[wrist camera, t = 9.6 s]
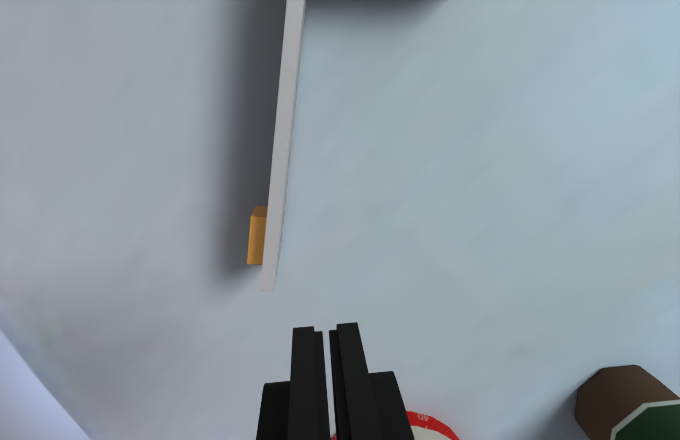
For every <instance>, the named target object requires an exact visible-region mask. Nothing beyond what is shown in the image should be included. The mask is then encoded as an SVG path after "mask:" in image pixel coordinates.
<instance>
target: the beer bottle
mask: <svg viewBox="0 0 680 440" xmlns="http://www.w3.org/2000/svg"><path fill="white" fill-rule="evenodd" d="M575 419H576V421H577V422H578V424H579V425H580V426H581V428H582V429H583V431H584V432H585V433H586V435H587V436H588V437H589V439H590V440H680V398H679V397H678V396H677V395H676V394H674V393H673V392H672V391H671V390H670V389H668V388H667V387H666V386H665V385H664V384H662V383H661V382H660V381H659V380H657V379H656V378H655V377H653V376H652V375H651V374H649V373H648V372H647V371H645V370H644V369H643V368H641V367H640V366H637V365H629V366H619V367H609V368H603V369H602V370H601V371H599V372H598V373H597V374H596V375H595V376H594V377H592V378H591V379H590V380H589V381H588V382H587V383H585V384H584V385H583V386H582V387H581V388H580V389H579V390H578V397H577V404H576V411H575Z"/></svg>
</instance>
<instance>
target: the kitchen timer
mask: <svg viewBox="0 0 680 440" xmlns="http://www.w3.org/2000/svg"><path fill="white" fill-rule="evenodd" d="M406 413H407V416H408V419H409V422H410V425H411V429H412V432H413V435H414V438H415V440H460V439H459V438H458V437H457V436H456V435H455V434H454V432H453V431H452V430H451V429H450V428H449V427H448V426H446V425H445V424H443V423H441V422H440V421H438V420H436V419H435V418H433V417H430V416H427V415H423V414H419V413H415V412H411V411H406ZM330 440H337V436H336V434H335V435H334V436H333V437H332V438H331V439H330Z"/></svg>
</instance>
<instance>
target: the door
mask: <svg viewBox="0 0 680 440" xmlns="http://www.w3.org/2000/svg"><path fill="white" fill-rule="evenodd" d="M305 9H306V0H287V5H286V16H285V26H284V37H283V48H282V59H281V70H280V80H279V91H278V102H277V113H276V124H275V134H274V145H273V156H272V167H271V178H270V188H269V199H268V207H267V206H258V205H255V208H254V210H253V212H252V215H251V221H250V233H249V245H248V258H247V264H255V265H262V275H261V286H260V291H267V292H274V289H275V282H276V276H277V270H278V263H279V257H280V248H281V239H282V229H283V220H284V210H285V201H286V191H287V182H288V172H289V162H290V153H291V143H292V134H293V124H294V115H295V105H296V95H297V86H298V76H299V67H300V57H301V48H302V38H303V29H304V19H305Z"/></svg>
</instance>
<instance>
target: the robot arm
mask: <svg viewBox="0 0 680 440" xmlns="http://www.w3.org/2000/svg"><path fill="white" fill-rule="evenodd" d="M329 339H330V354H331V368H332V382H333V397H334V411H335V424H336V436H337V440H415V438H414V435H413V432H412V429H411V425H410V422H409V419H408V416H407V413H406V409H405V406H404V403H403V400H402V397H401V394H400V390H399V387H398V384H397V381H396V378H395V375H394V372H393V371H388V372H377V373H368V369H367V364H366V360H365V355H364V351H363V346H362V342H361V337H360V333H359V328H358V324H357V322H355V323H344V324H337V330H329ZM256 440H330V427H329V414H328V400H327V387H326V374H325V360H324V347H323V334H322V331H318V332H314V326H310V327H299V328H293V337H292V357H291V376H290V381H284V382H274V383H265V384H264V387H263V393H262V401H261V408H260V415H259V422H258V429H257V436H256Z"/></svg>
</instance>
